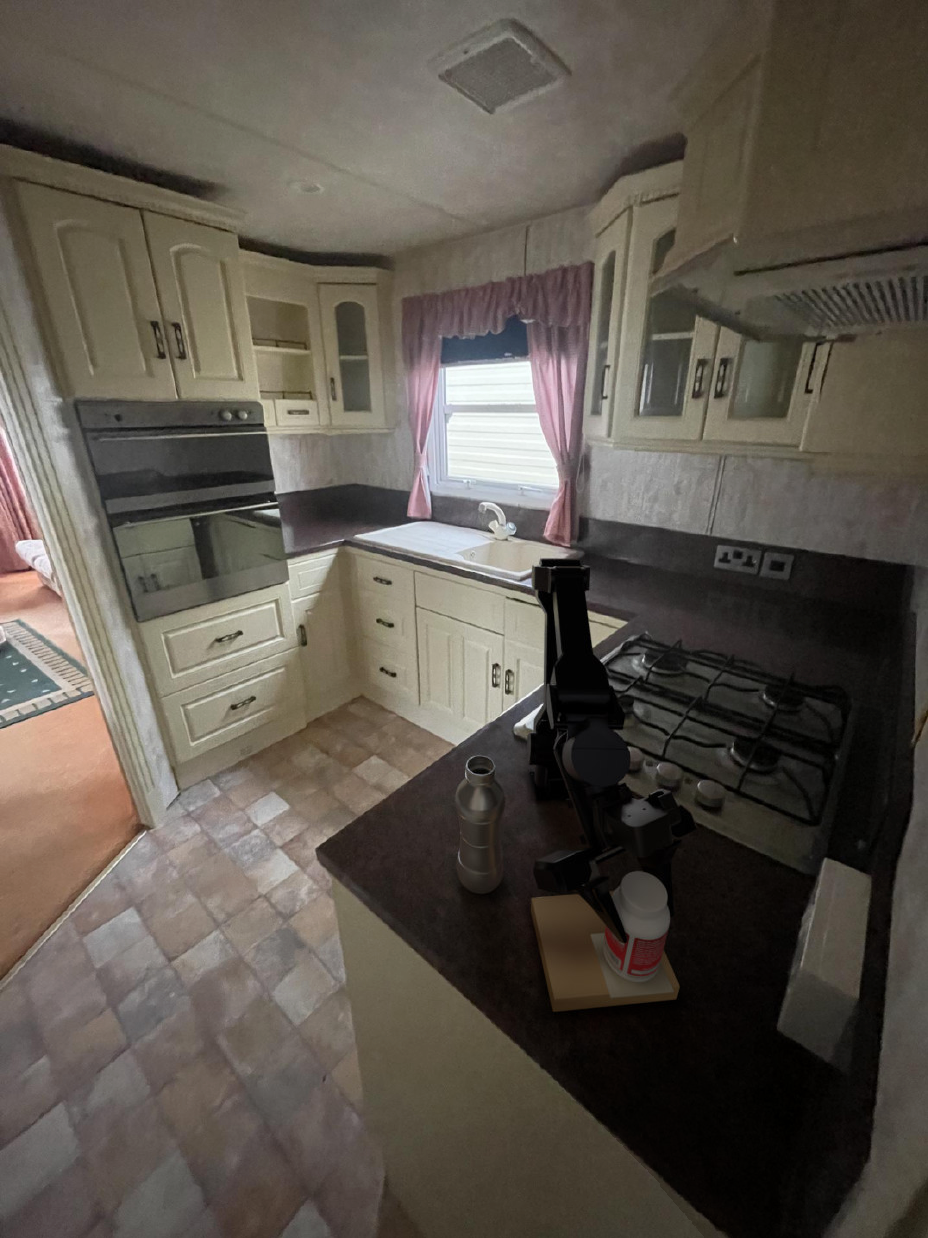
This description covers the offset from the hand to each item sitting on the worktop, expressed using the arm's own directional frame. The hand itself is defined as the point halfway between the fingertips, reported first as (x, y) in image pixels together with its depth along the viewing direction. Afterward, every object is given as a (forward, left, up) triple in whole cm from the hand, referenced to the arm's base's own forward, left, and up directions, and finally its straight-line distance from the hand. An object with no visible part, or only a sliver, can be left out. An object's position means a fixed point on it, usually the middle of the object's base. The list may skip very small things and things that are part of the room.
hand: (647, 929), depth 54 cm
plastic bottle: (-15, -16, -10) cm, 24 cm away
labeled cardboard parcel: (-4, -3, -10) cm, 11 cm away
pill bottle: (-1, -1, -7) cm, 7 cm away
